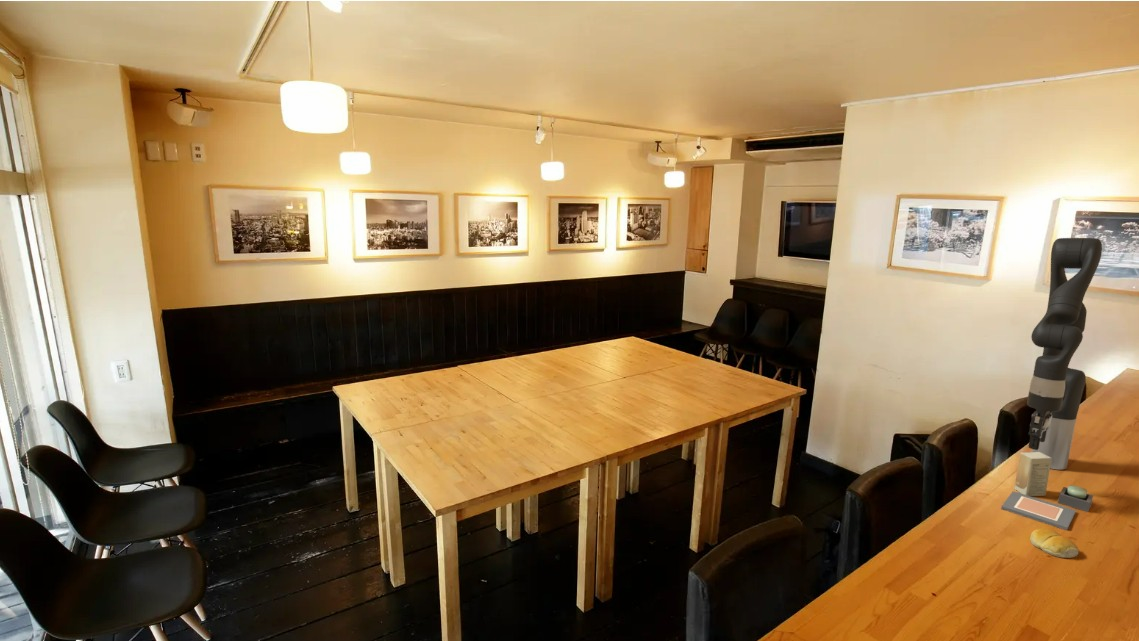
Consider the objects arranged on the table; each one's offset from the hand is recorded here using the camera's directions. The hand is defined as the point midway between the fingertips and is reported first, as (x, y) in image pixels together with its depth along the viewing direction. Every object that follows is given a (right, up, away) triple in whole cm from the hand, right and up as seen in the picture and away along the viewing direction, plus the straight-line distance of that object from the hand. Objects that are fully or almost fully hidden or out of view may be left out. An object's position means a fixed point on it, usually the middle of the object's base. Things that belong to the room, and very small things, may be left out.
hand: (1036, 444), depth 159 cm
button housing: (+8, -16, -3) cm, 18 cm away
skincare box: (0, -15, +3) cm, 16 cm away
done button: (+8, -13, -4) cm, 16 cm away
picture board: (-6, -17, -7) cm, 19 cm away
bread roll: (-16, -21, -23) cm, 35 cm away
